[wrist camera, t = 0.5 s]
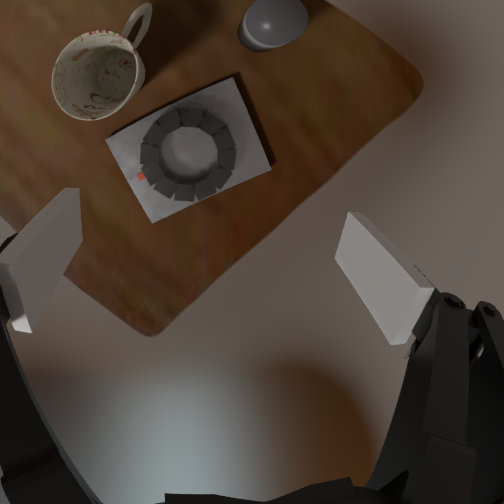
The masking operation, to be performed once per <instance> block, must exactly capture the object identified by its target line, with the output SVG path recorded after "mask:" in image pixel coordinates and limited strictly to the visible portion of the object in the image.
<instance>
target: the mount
mask: <svg viewBox="0 0 504 504" xmlns="http://www.w3.org/2000/svg"><path fill="white" fill-rule="evenodd" d="M106 142H107V144H108V146H109V148H110V150H111V151H112V153H113V155H114V157H115V159H116V161H117V163H118V164H119V166H120V168H121V170H122V172H123V173H124V175H125V177H126V179H127V181H128V182H129V184H130V186H131V188H132V190H133V191H134V193H135V195H136V197H137V198H138V200H139V202H140V204H141V205H142V207H143V209H144V210H145V212H146V214H147V216H148V217H149V219H150V221H151V222H152V223H154V222H156V221H158V220H161V219H163V218H165V217H167V216H169V215H171V214H173V213H175V212H177V211H179V210H181V209H184V208H186V207H188V206H190V205H192V204H194V203H196V202H199V201H201V200H203V199H205V198H207V197H210V196H212V195H214V194H216V193H219V192H221V191H223V190H225V189H228V188H230V187H232V186H234V185H237V184H239V183H241V182H244V181H246V180H248V179H251V178H253V177H255V176H258V175H260V174H262V173H265V172H267V171H270V170H271V167H270V165H269V162H268V160H267V157H266V155H265V152H264V150H263V147H262V145H261V142H260V140H259V138H258V135H257V133H256V130H255V128H254V126H253V123H252V121H251V118H250V116H249V114H248V111H247V109H246V107H245V104H244V102H243V100H242V97H241V95H240V93H239V90H238V88H237V86H236V84H235V81H234V79H233V77H232V78H229V79H227V80H224V81H222V82H219V83H217V84H215V85H212V86H210V87H208V88H205V89H203V90H201V91H198V92H196V93H194V94H192V95H190V96H187V97H185V98H183V99H181V100H179V101H177V102H175V103H173V104H171V105H169V106H167V107H165V108H163V109H161V110H159V111H157V112H155V113H153V114H151V115H149V116H147V117H145V118H143V119H141V120H139V121H138V122H136V123H134V124H132V125H130V126H129V127H127V128H125V129H123V130H121V131H120V132H118V133H116V134H115V135H113V136H111V137H109V138H108V139H106Z"/></svg>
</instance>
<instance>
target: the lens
mask: <svg viewBox="0 0 504 504" xmlns="http://www.w3.org/2000/svg"><path fill="white" fill-rule="evenodd" d="M307 24H308V13H307V10H306V8H305V6H304V5H303V3H302V2H301V1H300V0H256V1H255V2H254V3H253V5H252V6H251V7H250V8H249V10H248V11H247V13H246V14H245V16H244V17H243V20H242V21H241V23H240V24H239V27H238V38H239V40H240V42H241V44H242V45H243V46H244V47H246V48H247V49H249V50H251V51H254V52H267V51H269V50H272V49H274V48H277V47H280V46H282V45H284V44H286V43H288V42H290V41H292V40H294V39H296V38H298V37H299V36H301V35H302V34H303V32H304V31H305V29H306V27H307Z"/></svg>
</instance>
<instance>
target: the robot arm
mask: <svg viewBox="0 0 504 504" xmlns="http://www.w3.org/2000/svg"><path fill="white" fill-rule="evenodd" d="M82 241H83V239H82V227H81V213H80V193H79V188H64V189H63V190H62V191H61V192H60V193H59V194H58V195H57V196H56V197H55V198H53V199H52V200H51V201H50V202H49V203H48V204H47V205H46V206H45V207H44V208H43V209H42V210H41V211H40V212H39V213H38V214H37V215H36V216H35V217H34V218H33V219H32V220H31V221H30V222H29V223H28V224H27V225H26V226H25V227H24V228H23V229H22V230H21V232H20V233H15V234H14V235H12V236H11V237H9V238H7V239H6V240H5V241H4V242H3V244H2V245H1V247H0V466H1V468H2V471H3V476H2V477H1V484H2V487H3V490H4V492H5V494H6V496H7V498H8V500H9V502H10V504H103V503H102V502H101V501H100V500H99V499H98V497H97V496H96V495H95V494H94V492H93V491H92V490H91V488H90V487H89V486H88V484H87V483H86V482H85V480H84V479H83V477H82V476H81V475H80V473H79V471H78V470H77V469H76V467H75V466H74V464H73V462H72V461H71V459H70V458H69V456H68V455H67V453H66V452H65V450H64V448H63V447H62V445H61V443H60V442H59V440H58V438H57V437H56V435H55V433H54V431H53V430H52V428H51V426H50V424H49V422H48V421H47V419H46V417H45V415H44V413H43V411H42V409H41V407H40V405H39V403H38V401H37V399H36V398H35V396H34V393H33V391H32V389H31V387H30V385H29V382H28V380H27V378H26V376H25V373H24V371H23V369H22V366H21V364H20V362H19V359H18V357H17V354H16V351H15V349H14V347H13V344H12V341H11V338H10V336H9V333H8V330H7V327H6V323H7V322H8V320H9V318H11V321H12V324H13V327H14V329H15V330H17V331H22V332H28V333H32V332H33V330H34V328H35V326H36V324H37V322H38V320H39V318H40V316H41V314H42V312H43V310H44V308H45V306H46V304H47V302H48V300H49V298H50V296H51V295H52V293H53V291H54V289H55V287H56V285H57V284H58V282H59V280H60V278H61V276H62V275H63V273H64V271H65V270H66V268H67V266H68V264H69V263H70V261H71V259H72V258H73V256H74V254H75V253H76V251H77V249H78V248H79V246H80V244H81V243H82ZM335 260H336V261H337V263H338V264H339V265H340V267H341V269H342V270H343V272H344V273H345V275H346V276H347V278H348V279H349V281H350V282H351V283H352V285H353V287H354V288H355V289H356V291H357V293H358V294H359V296H360V297H361V299H362V300H363V302H364V303H365V305H366V307H367V308H368V309H369V311H370V313H371V314H372V316H373V317H374V319H375V321H376V322H377V324H378V325H379V327H380V329H381V330H382V332H383V333H384V335H385V336H386V338H387V340H388V341H389V343H390V345H396V344H405V343H406V341H407V339H408V338H409V335H410V334H411V332H413V334H414V335H415V337H416V339H415V341H414V343H413V344H412V346H411V348H410V349H409V351H408V353H407V354H406V356H405V357H404V359H407V358H408V357H409V360H408V364H407V369H406V372H405V376H404V381H403V384H402V388H401V391H400V395H399V398H398V402H397V405H396V408H395V412H394V415H393V418H392V421H391V424H390V428H389V430H388V433H387V436H386V439H385V442H384V445H383V448H382V450H381V453H380V456H379V458H378V461H377V464H376V466H375V468H374V471H373V473H372V475H371V477H370V479H369V481H368V482H367V483H366V484H365V486H364V487H359V486H353V485H352V482H351V479H350V477H346V478H342V479H338V480H333V481H328V482H324V483H318V484H313V485H309V486H306V487H304V488H301V489H299V490H297V491H294V492H292V493H289V494H287V495H284V496H281V497H279V498H276V499H273V500H271V501H267V502H259V501H251V500H244V499H237V498H231V497H226V496H220V495H215V494H205V495H204V494H166V493H165V502H163V503H157V504H504V320H503V318H502V316H501V314H500V312H499V311H498V310H497V309H496V308H495V306H494V305H492V304H490V303H487V302H484V301H480V302H479V303H478V304H477V306H476V308H475V310H469V309H466V306H465V304H464V303H463V301H462V300H461V299H459V298H458V297H457V296H455V295H453V294H450V293H445V292H443V293H440V292H439V291H438V290H437V289H436V288H435V287H434V285H432V283H431V282H430V281H429V280H428V279H426V277H425V276H424V275H423V274H422V273H421V272H420V270H419V269H418V268H416V266H415V265H413V264H412V263H411V262H410V261H409V260H408V259H407V258H406V257H405V256H404V255H403V253H402V252H401V251H400V250H398V248H396V247H395V245H394V244H393V243H392V242H391V241H390V240H389V239H387V237H386V236H385V235H383V234H382V233H381V232H380V231H379V230H378V229H377V228H376V227H375V226H374V225H373V224H372V223H371V222H370V221H369V220H368V219H367V218H366V217H365V216H364V215H363V214H362V213H356V212H348V216H347V219H346V222H345V226H344V229H343V232H342V236H341V239H340V243H339V246H338V249H337V252H336V255H335ZM483 346H484V348H483ZM482 348H483V352H482V354H481V356H480V357H478V353H479V352H480V351H481V349H482Z"/></svg>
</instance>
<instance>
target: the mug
mask: <svg viewBox="0 0 504 504" xmlns="http://www.w3.org/2000/svg"><path fill="white" fill-rule="evenodd" d="M142 15H143V22H142V26H141V28H140V30H139V32H138V35H137V37H136V39H135V41H134V43H133V44H132V43H131V42H130V41H129V40H128V39H127V37H128V35H129V33H130V31H131V29H132V28H133V26H134V24H135V23H136V21H137V20H138V18H139V17H140V16H142ZM151 15H152V5H151V4H150V3H144V4H142V5H141V6H139V7H138V8H137V9H136V10H135V11H134V12H133V13H132V15H131V16H130V18H129V19H128V21H127V23H126V24H125V26H124V28H123V30H122V32H121V33H120V34H119V33H116V32H113V31H109V30H95V31H91V32H87V33H85V34H82V35H80V36H79V37H77V38H75V39H74V40H73V41H71V42H70V43H69V44H68V45H67V46H66V47H65V48H64V50H63V51H62V52H61V54H60V55H59V57H58V59H57V61H56V63H55V66H54V69H53V73H52V90H53V94H54V97H55V100H56V101H57V103H58V105H59V106H60V107H61V109H62V110H63V111H64V112H66V113H67V114H68V115H70V116H72V117H74V118H77V119H81V120H98V119H102V118H105V117H107V116H110V115H112V114H113V113H115V112H117V111H118V110H119V109H121V108H122V107H123V106H124V105H125V104H126V103H127V102H128V101H129V100H130V99H131V98H132V97H133V96H134V95H135V94H136V93H137V92H138V91H139V90H140V88H141V87H142V85H143V83H144V79H145V66H144V64H143V61H142V60H141V58H140V56H139V54H138V52H137V50H136V48H137V47H138V45H139V44H140V42H141V40H142V39H143V37H144V36H145V34H146V32H147V30H148V27H149V24H150V20H151Z"/></svg>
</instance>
